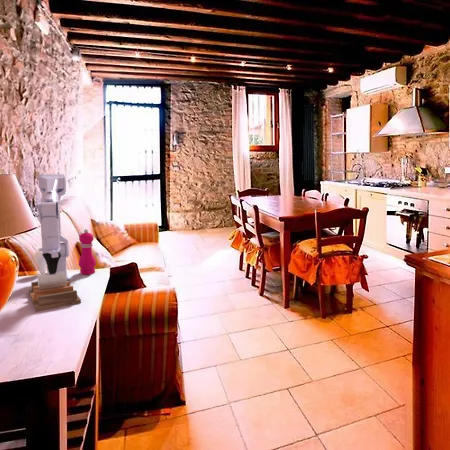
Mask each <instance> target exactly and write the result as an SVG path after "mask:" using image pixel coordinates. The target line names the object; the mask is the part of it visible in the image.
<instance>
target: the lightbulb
mask: <svg viewBox="0 0 450 450" xmlns="http://www.w3.org/2000/svg"><path fill="white" fill-rule="evenodd" d="M33 259H34V261H35V262H36V264H37V267H38V270H39V274H43V273H47V264H46V261H45V259H44V258H43V255H42V251H38V250H37V251H35V253H34V255H33Z"/></svg>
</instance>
